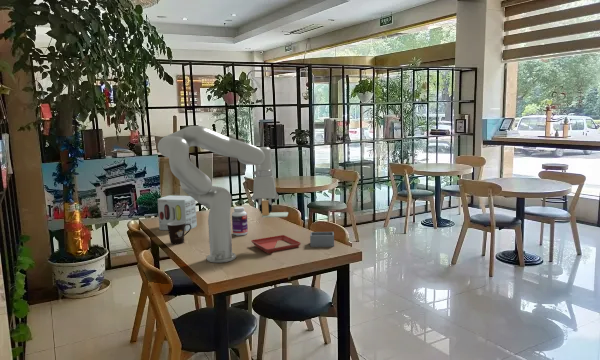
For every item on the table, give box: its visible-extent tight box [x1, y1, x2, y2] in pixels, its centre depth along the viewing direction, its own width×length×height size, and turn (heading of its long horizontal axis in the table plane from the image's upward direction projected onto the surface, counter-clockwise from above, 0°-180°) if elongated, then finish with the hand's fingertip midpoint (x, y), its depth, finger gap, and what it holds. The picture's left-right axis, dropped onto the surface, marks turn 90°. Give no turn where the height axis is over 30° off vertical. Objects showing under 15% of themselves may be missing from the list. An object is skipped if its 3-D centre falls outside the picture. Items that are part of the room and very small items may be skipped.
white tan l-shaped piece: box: [261, 199, 289, 219], centre depth 210 cm, size 8×12×8 cm, turn 87°
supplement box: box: [157, 195, 198, 232], centre depth 257 cm, size 17×13×18 cm
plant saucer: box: [250, 234, 302, 255], centre depth 212 cm, size 18×18×3 cm
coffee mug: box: [167, 222, 192, 246], centre depth 226 cm, size 12×9×10 cm
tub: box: [309, 231, 335, 248], centre depth 212 cm, size 7×11×6 cm, turn 86°
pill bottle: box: [231, 206, 249, 236], centre depth 239 cm, size 8×8×14 cm
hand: (265, 212), depth 211 cm, fingers closed on white tan l-shaped piece, 3 cm apart
